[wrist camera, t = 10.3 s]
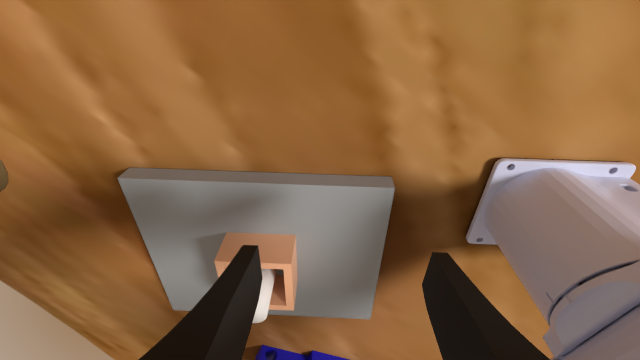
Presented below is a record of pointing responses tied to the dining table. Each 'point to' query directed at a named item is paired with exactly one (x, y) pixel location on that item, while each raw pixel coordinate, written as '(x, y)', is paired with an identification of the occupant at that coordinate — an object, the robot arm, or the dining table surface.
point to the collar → (267, 262)
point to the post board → (265, 232)
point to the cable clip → (291, 355)
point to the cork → (3, 176)
